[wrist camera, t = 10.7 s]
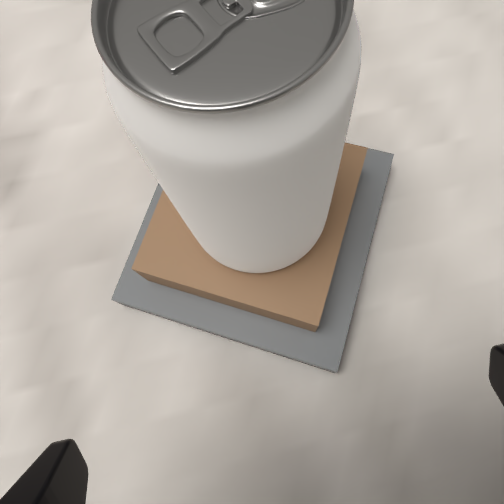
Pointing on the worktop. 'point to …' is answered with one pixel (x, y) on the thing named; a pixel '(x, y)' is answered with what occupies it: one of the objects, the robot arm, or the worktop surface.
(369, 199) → the plinth
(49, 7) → the worktop surface
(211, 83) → the can
